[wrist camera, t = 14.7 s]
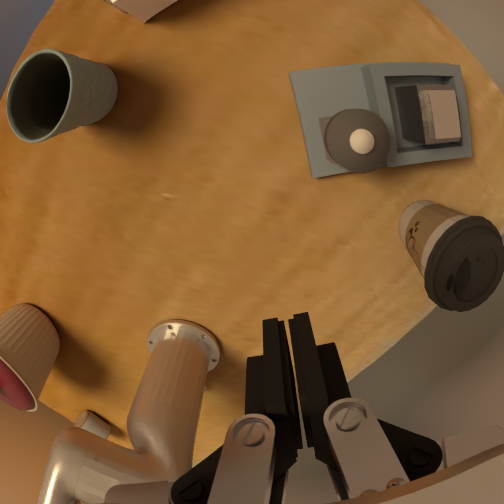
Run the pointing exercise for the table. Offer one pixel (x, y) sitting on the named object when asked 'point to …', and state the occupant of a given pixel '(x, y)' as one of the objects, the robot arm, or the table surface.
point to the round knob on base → (357, 140)
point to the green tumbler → (58, 94)
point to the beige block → (428, 113)
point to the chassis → (374, 108)
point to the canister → (25, 355)
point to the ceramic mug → (93, 424)
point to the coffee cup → (453, 254)
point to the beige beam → (141, 7)
